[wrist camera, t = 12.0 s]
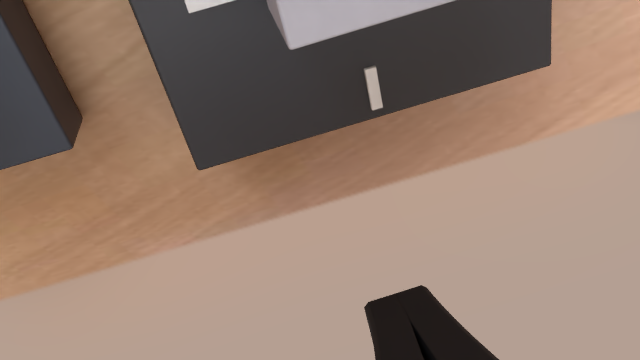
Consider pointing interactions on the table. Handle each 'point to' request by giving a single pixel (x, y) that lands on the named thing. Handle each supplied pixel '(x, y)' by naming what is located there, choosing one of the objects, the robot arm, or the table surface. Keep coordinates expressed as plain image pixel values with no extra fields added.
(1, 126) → the switch block
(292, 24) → the knob
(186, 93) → the panel
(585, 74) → the table surface
